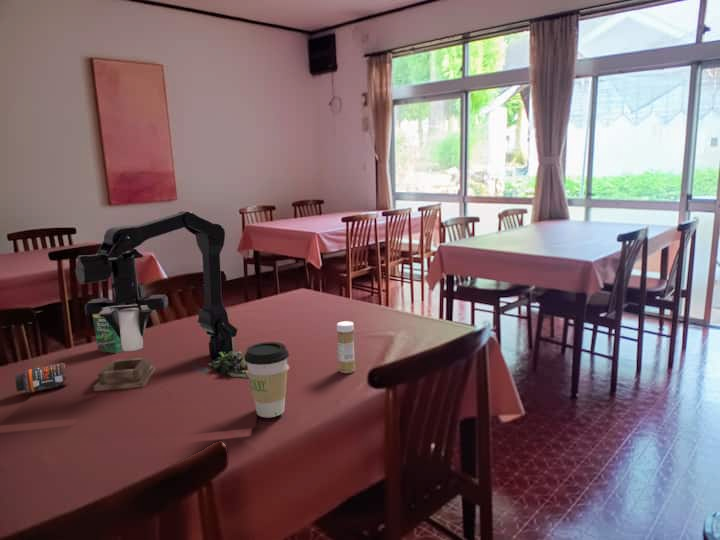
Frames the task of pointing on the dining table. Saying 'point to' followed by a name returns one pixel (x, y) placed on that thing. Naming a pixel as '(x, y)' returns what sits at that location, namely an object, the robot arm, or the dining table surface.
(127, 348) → the white tapered cylinder
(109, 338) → the coffee box
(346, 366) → the sprinkles bottle
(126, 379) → the holder
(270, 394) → the coffee cup
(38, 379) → the supplement bottle
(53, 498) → the dining table surface
